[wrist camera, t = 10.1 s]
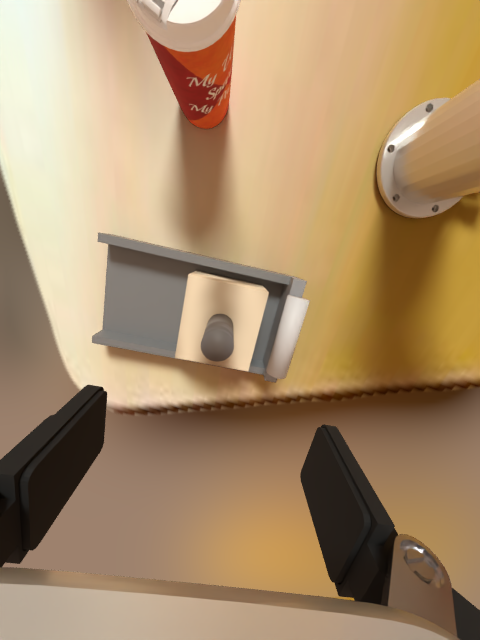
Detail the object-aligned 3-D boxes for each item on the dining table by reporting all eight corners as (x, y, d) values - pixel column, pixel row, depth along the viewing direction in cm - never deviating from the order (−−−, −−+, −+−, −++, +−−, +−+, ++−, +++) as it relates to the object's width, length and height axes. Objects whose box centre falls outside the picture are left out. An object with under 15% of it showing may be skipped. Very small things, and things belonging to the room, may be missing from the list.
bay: (298, 277, 33) (318, 285, 25) (273, 365, 36) (283, 394, 29) (112, 234, 30) (75, 229, 23) (105, 333, 34) (71, 356, 27)
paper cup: (214, 154, 28) (199, 65, 15) (158, 109, 27) (84, -35, 13) (251, 89, 26) (272, -78, 13) (194, 38, 25) (150, -209, 12)
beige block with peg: (262, 285, 32) (279, 304, 20) (245, 351, 34) (252, 401, 23) (196, 270, 31) (175, 281, 19) (184, 339, 33) (159, 385, 22)
